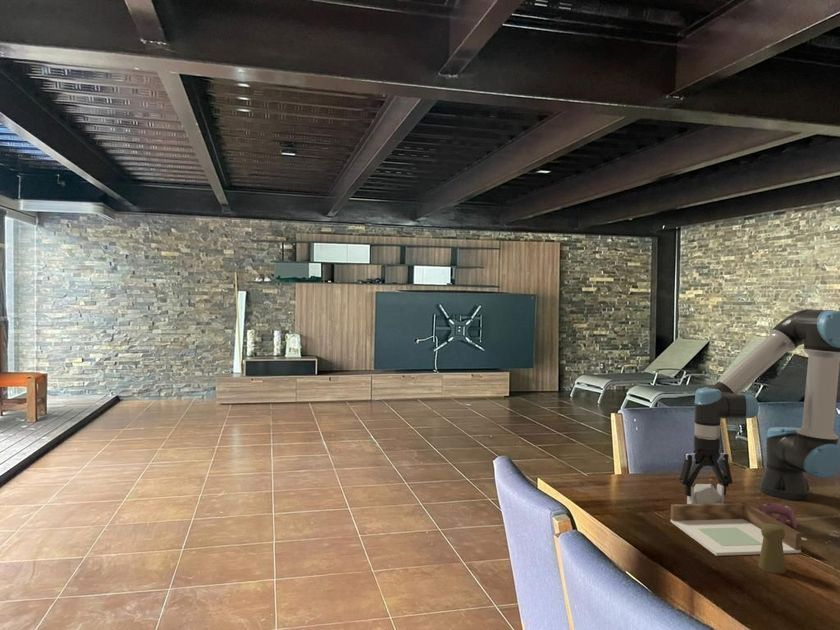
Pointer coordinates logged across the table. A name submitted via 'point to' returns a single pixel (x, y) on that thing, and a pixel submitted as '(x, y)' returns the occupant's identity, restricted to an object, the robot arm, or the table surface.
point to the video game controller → (780, 512)
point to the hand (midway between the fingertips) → (705, 505)
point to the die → (706, 494)
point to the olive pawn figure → (772, 549)
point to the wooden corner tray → (730, 527)
